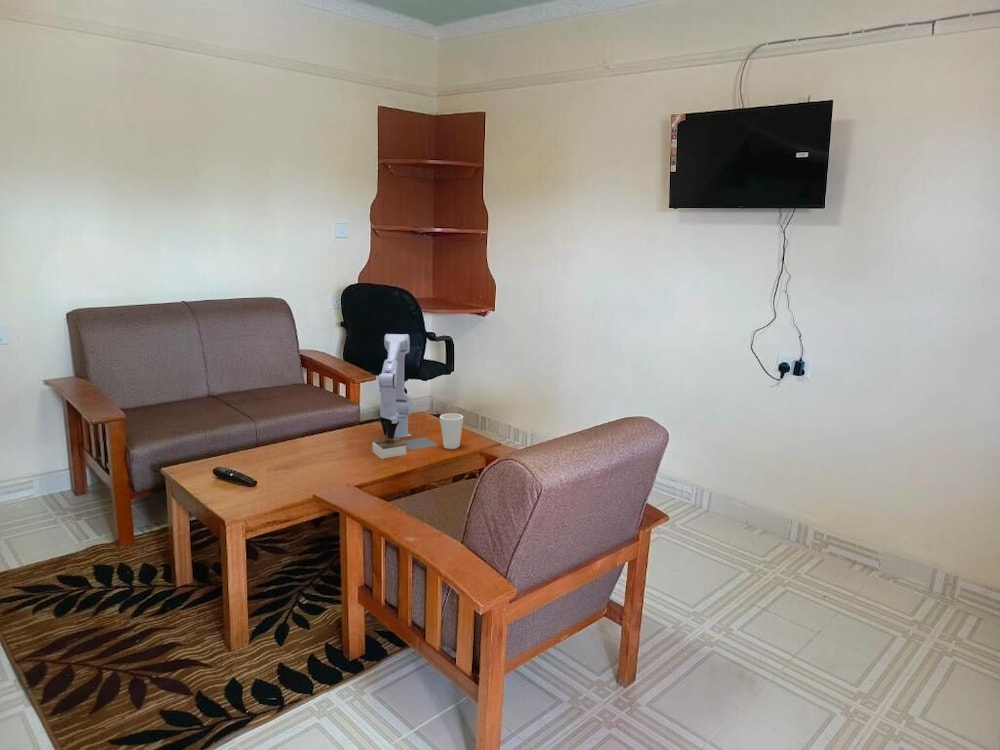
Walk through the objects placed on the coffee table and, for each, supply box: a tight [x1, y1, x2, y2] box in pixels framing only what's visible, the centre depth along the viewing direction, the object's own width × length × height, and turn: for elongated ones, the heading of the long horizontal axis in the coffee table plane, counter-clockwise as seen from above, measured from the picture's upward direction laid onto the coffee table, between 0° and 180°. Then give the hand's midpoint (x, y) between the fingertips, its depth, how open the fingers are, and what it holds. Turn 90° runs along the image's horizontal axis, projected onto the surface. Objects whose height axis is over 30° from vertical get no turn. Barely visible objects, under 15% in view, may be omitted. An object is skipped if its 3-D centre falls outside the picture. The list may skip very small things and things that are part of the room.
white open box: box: [372, 441, 407, 460], centre depth 277 cm, size 10×10×4 cm
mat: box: [403, 437, 438, 451], centre depth 290 cm, size 12×12×1 cm
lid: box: [374, 431, 406, 449], centre depth 277 cm, size 10×10×5 cm
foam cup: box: [439, 413, 464, 450], centre depth 285 cm, size 10×9×13 cm
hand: (389, 436), depth 276 cm, fingers open, 4 cm apart
